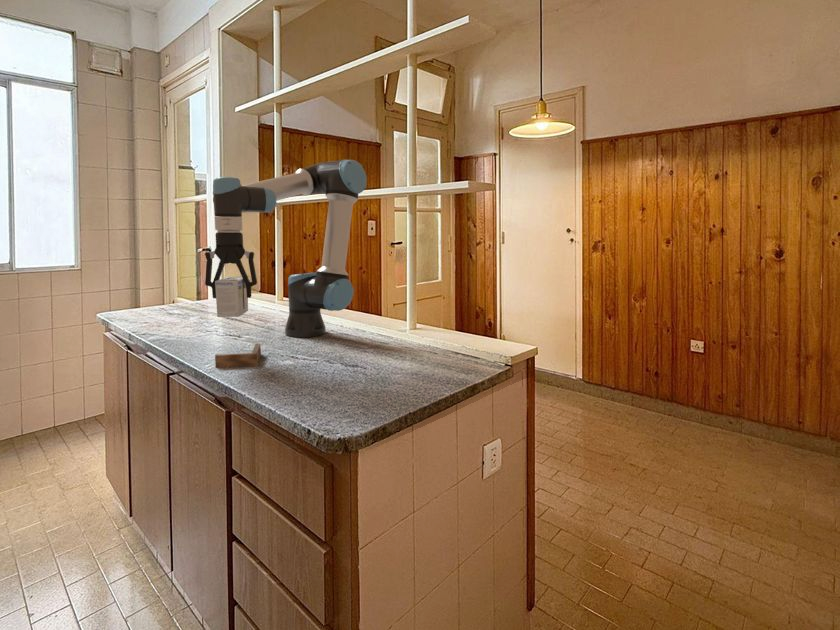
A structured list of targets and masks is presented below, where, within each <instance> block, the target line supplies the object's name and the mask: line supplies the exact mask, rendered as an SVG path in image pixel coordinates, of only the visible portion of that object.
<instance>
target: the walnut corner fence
mask: <svg viewBox="0 0 840 630" xmlns="http://www.w3.org/2000/svg"><path fill="white" fill-rule="evenodd" d="M261 347H262V346H261V343H255V344H254V346H253V349H252V352H240V353H219V354H214V359H215V361H214V363H215V368H229V367H230V368H231V367H234V368H235V367H253V366H255V367H257V366H258V364H259V362H260V358H261V355H262V350H261Z"/></svg>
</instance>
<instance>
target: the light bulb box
mask: <svg viewBox="0 0 840 630" xmlns="http://www.w3.org/2000/svg"><path fill="white" fill-rule="evenodd" d="M244 287H246V285H245V282H244V280H243V278H242V276H241V277H239V276H237V277H236V276H233V277H232V276H229V277H226V276H225V277H223V278H220V279H219V280H217V281H215V288H216V298H215V300H216V302H215V303H216V316H217V318H240V317H241V316H242V315H244V314H245V313H247V312H248V311H249V308H248V309H245V306H244Z"/></svg>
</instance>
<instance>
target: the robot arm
mask: <svg viewBox="0 0 840 630" xmlns="http://www.w3.org/2000/svg"><path fill="white" fill-rule="evenodd" d="M367 178H368V177H367V174H366V171H365V169H364V168H363V165H362V164H361V163H360V162H358V161H357V160H354V159H340V160H331V161H322V162H319V163H316V164H313V165H310V166H306V167H303V168H299V169H297V170H296V171H295V172H294V173H291V174H286V175H282V176H278V177H277V176H276V177H273V178H269V179H264V180H260V181H255V182H251V183H247V184H243V185H242V183H241V180H240V179H239V178H238V177H231V176H230V177H229V176H227V177H226V176H225V177H224V176H218V177H215V178H214V179H213V181H212V182H213V183H212V202H213V209H214V210H213V213H214V230H215V231H217V232H216V233H215V249H214V250H211V251H206V252H205V253H204V256H205V260H206V266H205V267H206V268H205V277H204V278H205V279H204V281H205V282H204V285H205V286H207V287H210V288H211V292H212V298H213V299H216V288H215V281H217V280H220V279H221V276H222V273H223V270H224V268H225V265H226V264H233V265H236V267H237V269H238V271H239V273H240V275H241V277H242V278H243V280H244V282H245V285H246V287H244V306H245V309H248V310H249V299H250V298H251V297H252V287H253V286H256V285H258V280H257V273H256V266H255V263H254V258H255V252H254V251H248V250H245V248H244V237H243V236H244V235H243V233H242V232H241V231H243V217H242V216H243V215H242V214H243V213H262V214H264V213H272V212H273V211H274V210H275V209H276V207H277V202H278V201H281V200H285V199H288V198H292V197H297V196H299V195H302V196H311V195H325V197H326V199H327V200H328V209H327V217H326V225H325V235H324V242H323V251H322V259H321V266H320V267H319V269H317V270H316V272H308V273H307V272H306V273H297V274H291V275H289V277H288V281H287V283H288V284H287V292H288V294H287V295H288V317H287V320H286V323H285V327H284V333H285V334H284V335H286V336H287V337H291V338H292V337H293V338H310V337H311V338H313V337H319V336H323V335H325V334H326V332H327V331H326V325H325V322H324V320H323V317H322V314H321V310H325V311H326V310H327V311H331V312H333V311H336V312H339V311H342V310H345V309H346V308H347V307H348V306H349V305H350V304H351V302H352V300H353V299H354V298H353V297H354V293H355V292H354V287H353V284H352V282H351V281H350V280H349V277H350V276H349V273H348V272H347V270H346V266H347V265H346V264H347V258H348V249H349V240H350V233H351V223H352V216H353V215H352V214H353V208H354V204H355V203H356V202H358V201H359V200H358V199H359V195H360V194H361V193H362V192H364V190H365V189H366V188H367V182H368V181H367ZM215 255H216V257H217V258H218V260H219V263H218V266H217V270H216V272H215V275H214V277H213V281H212V272H213V259H214V258H215ZM244 256H245V257H246V259H248V266H249V271H250V278H251V280H250V279H249V277H248V274H247V272H246V270H245V267H244V265H243V262H242V258H243V257H244Z"/></svg>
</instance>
